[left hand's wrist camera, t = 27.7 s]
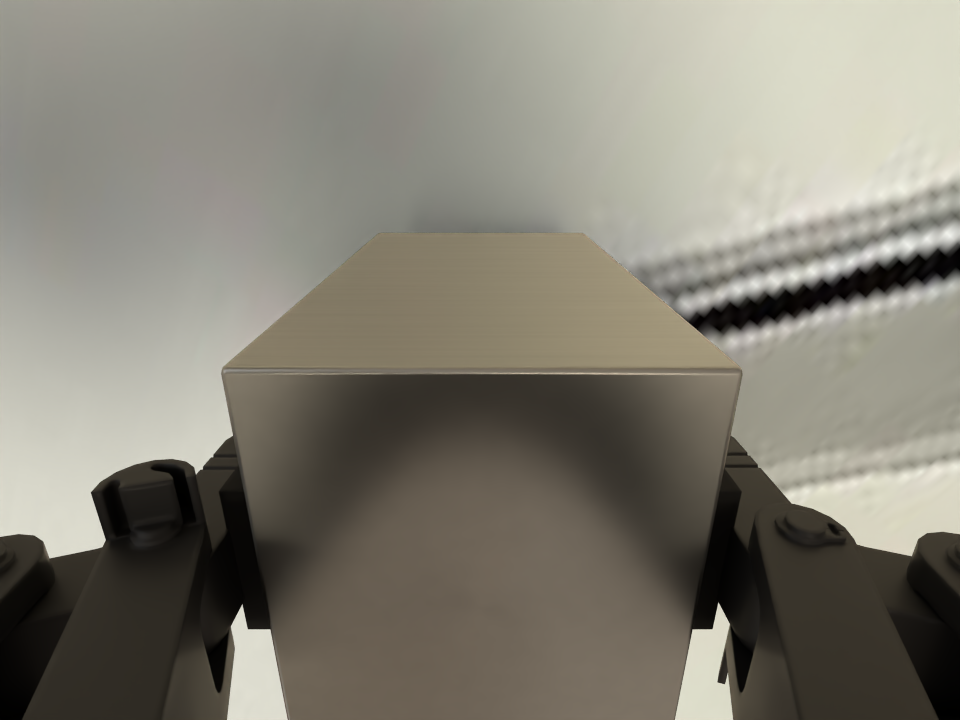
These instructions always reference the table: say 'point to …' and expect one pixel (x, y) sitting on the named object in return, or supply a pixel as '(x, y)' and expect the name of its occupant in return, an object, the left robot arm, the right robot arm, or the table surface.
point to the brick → (481, 482)
